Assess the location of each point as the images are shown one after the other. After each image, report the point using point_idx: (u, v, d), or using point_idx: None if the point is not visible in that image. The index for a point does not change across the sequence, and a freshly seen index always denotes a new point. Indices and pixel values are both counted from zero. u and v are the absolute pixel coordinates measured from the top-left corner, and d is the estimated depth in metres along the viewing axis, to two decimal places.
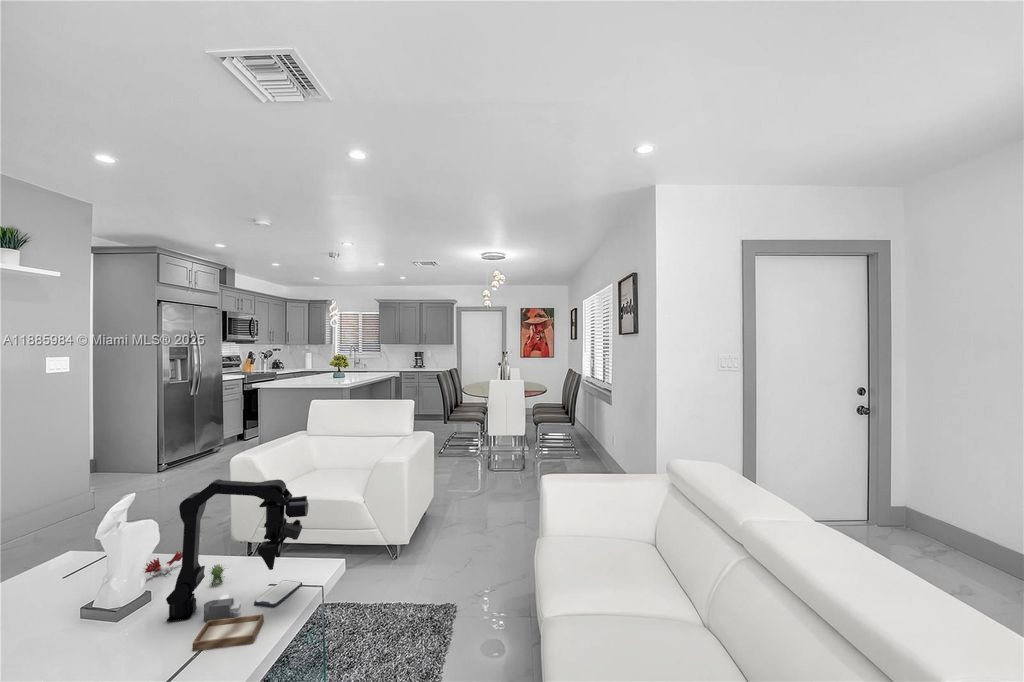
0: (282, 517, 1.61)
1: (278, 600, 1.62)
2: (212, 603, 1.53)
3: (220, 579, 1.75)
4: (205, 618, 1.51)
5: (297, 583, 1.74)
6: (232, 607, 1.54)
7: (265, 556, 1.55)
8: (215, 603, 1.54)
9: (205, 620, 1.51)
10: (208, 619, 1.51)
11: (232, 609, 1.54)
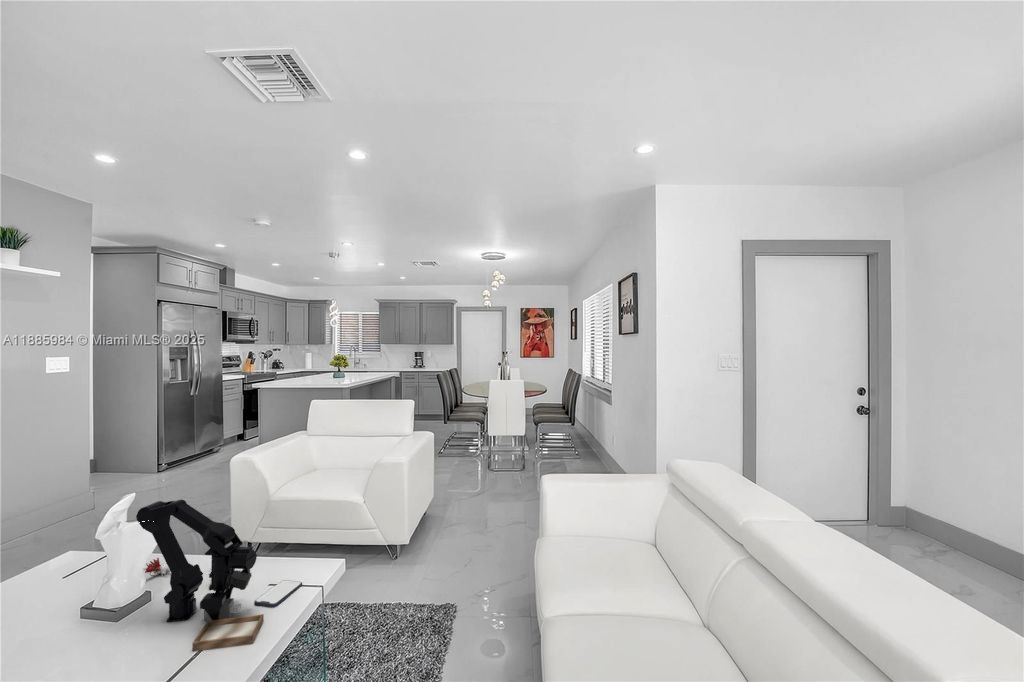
0: (226, 567, 1.53)
1: (278, 600, 1.62)
2: None
3: None
4: (205, 618, 1.51)
5: (297, 583, 1.74)
6: (232, 607, 1.54)
7: (209, 609, 1.48)
8: None
9: (205, 620, 1.51)
10: (208, 619, 1.51)
11: (232, 609, 1.54)
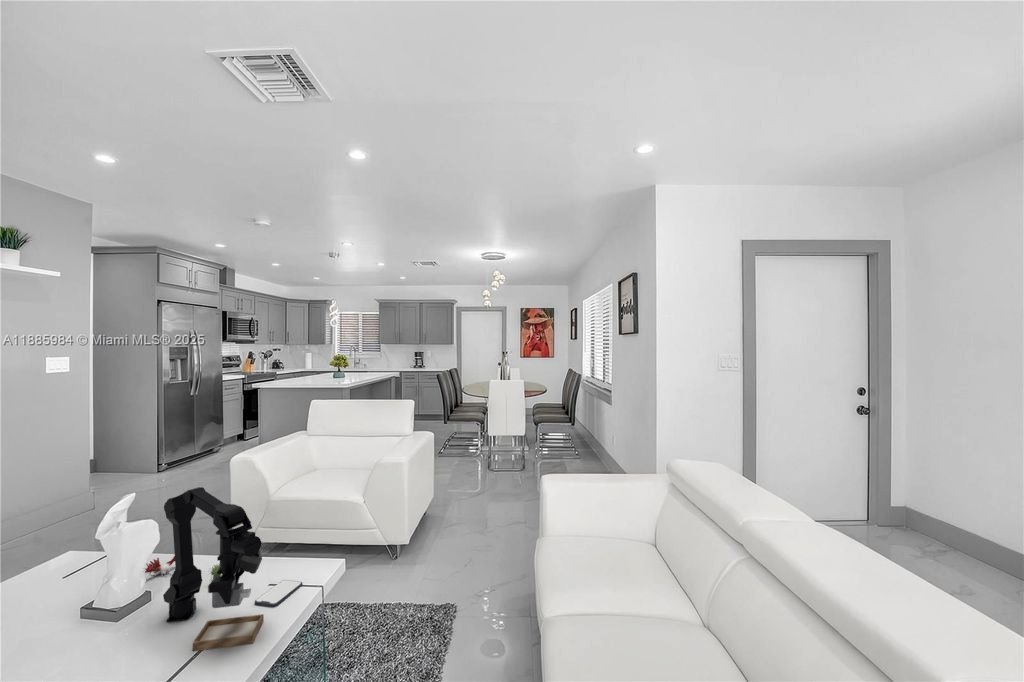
0: (232, 551, 1.43)
1: (278, 600, 1.63)
2: None
3: None
4: (214, 603, 1.42)
5: (297, 583, 1.74)
6: (242, 592, 1.45)
7: None
8: None
9: (214, 605, 1.42)
10: (217, 604, 1.42)
11: (242, 594, 1.45)
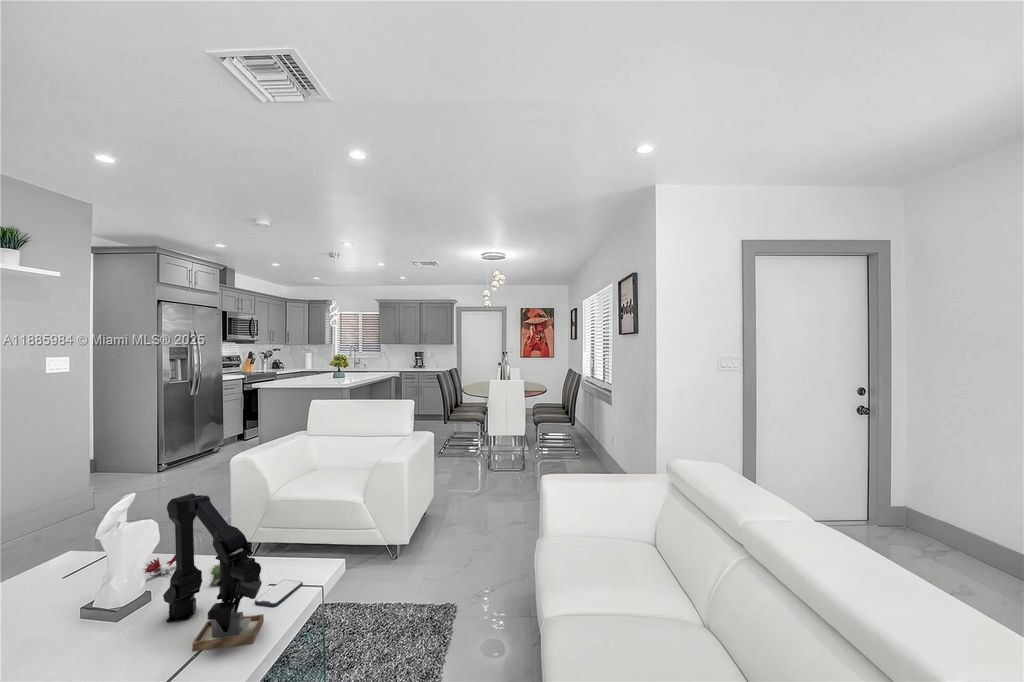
0: (232, 576, 1.43)
1: (279, 600, 1.63)
2: None
3: None
4: (213, 633, 1.42)
5: (297, 583, 1.74)
6: (242, 621, 1.45)
7: None
8: None
9: (213, 636, 1.42)
10: (216, 634, 1.42)
11: (242, 624, 1.44)
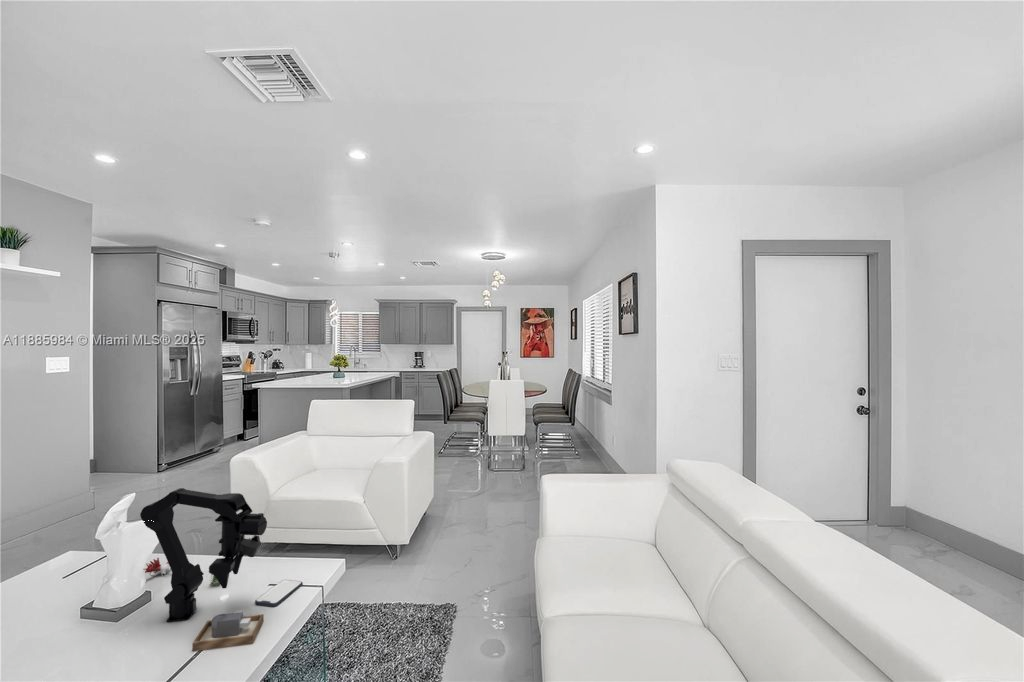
0: (237, 534, 1.54)
1: (279, 599, 1.63)
2: (220, 617, 1.44)
3: None
4: (213, 633, 1.42)
5: (297, 582, 1.75)
6: (242, 621, 1.45)
7: (218, 574, 1.48)
8: (224, 617, 1.44)
9: (213, 636, 1.42)
10: (216, 634, 1.42)
11: (242, 624, 1.44)
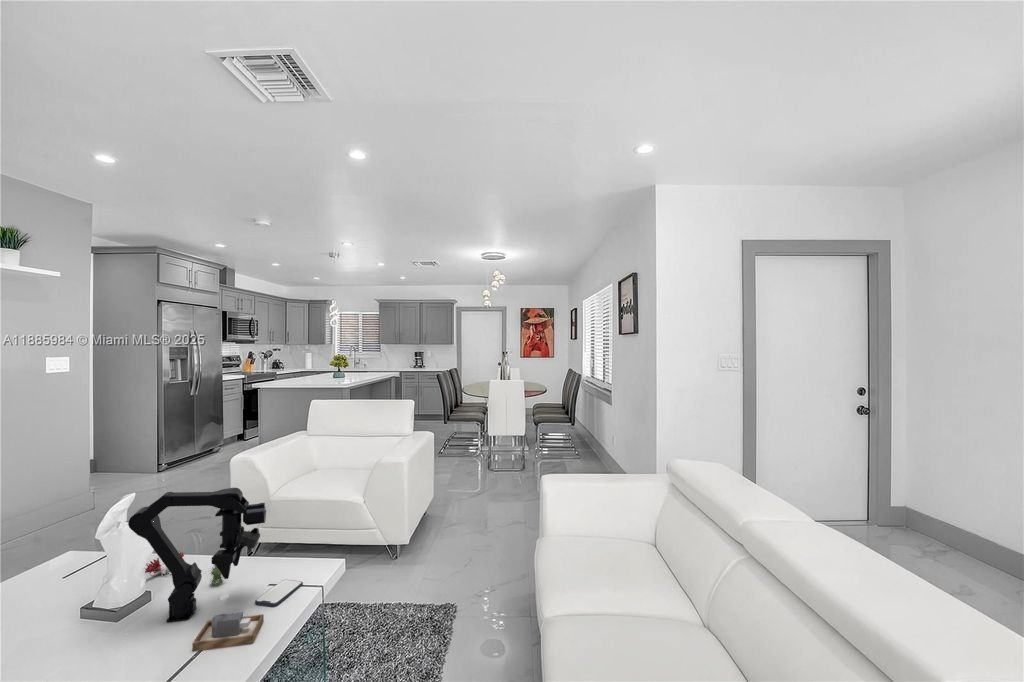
0: (239, 525, 1.60)
1: (279, 599, 1.63)
2: (220, 617, 1.44)
3: None
4: (213, 633, 1.42)
5: (298, 582, 1.75)
6: (242, 621, 1.45)
7: (220, 565, 1.54)
8: (224, 617, 1.44)
9: (213, 636, 1.42)
10: (216, 634, 1.42)
11: (242, 624, 1.44)
